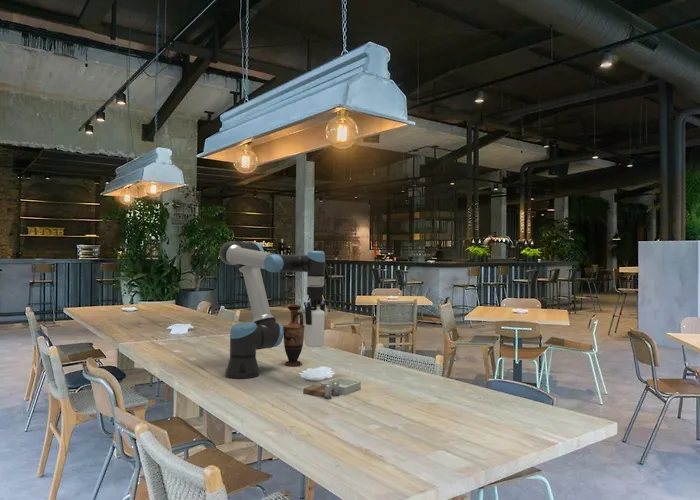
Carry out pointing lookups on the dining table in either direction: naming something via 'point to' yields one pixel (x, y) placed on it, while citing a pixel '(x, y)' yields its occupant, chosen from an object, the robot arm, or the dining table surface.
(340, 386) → the tray
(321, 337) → the potion bottle
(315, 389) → the tan wooden board
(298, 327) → the vase
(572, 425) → the dining table surface
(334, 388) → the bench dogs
